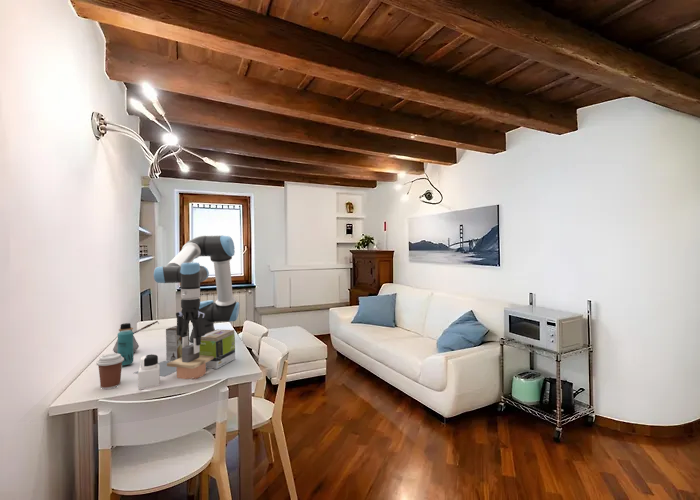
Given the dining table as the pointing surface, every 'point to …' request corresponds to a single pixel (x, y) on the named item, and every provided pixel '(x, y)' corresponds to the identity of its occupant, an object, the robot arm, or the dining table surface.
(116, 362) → the coffee cup
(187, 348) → the lid
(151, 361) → the medicine bottle
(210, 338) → the tea box
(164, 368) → the mat
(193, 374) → the bowl
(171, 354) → the coffee box
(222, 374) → the dining table surface
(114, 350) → the coffee pot
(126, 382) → the dining table surface
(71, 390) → the dining table surface
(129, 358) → the beverage bottle
